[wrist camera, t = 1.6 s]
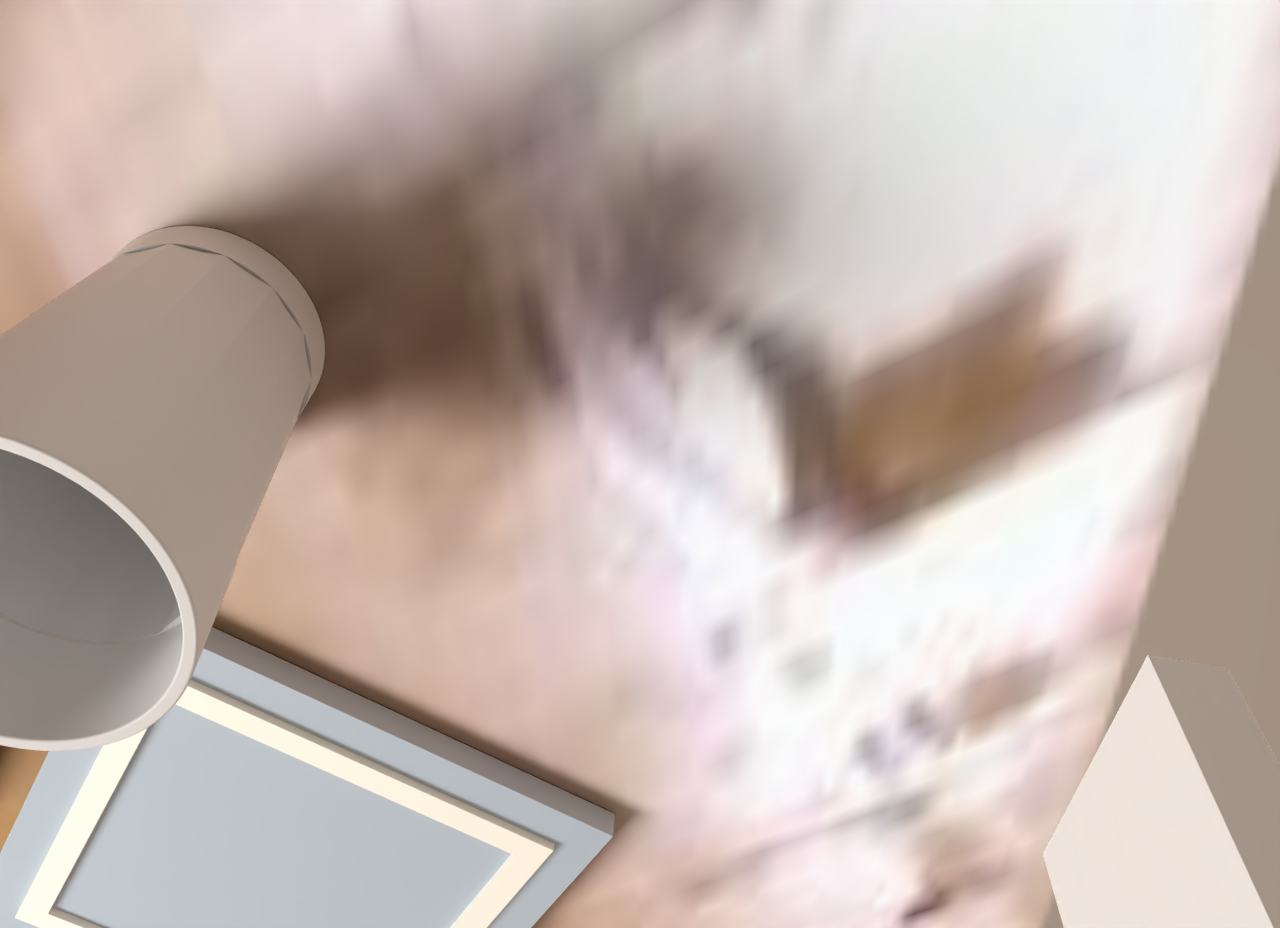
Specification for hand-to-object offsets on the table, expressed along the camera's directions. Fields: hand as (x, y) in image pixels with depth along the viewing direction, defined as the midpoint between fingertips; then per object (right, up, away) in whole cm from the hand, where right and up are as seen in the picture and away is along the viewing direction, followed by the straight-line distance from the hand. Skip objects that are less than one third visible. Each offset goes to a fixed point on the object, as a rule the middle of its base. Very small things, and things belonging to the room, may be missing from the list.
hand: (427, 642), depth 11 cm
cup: (-10, +5, +22) cm, 25 cm away
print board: (-11, -13, +34) cm, 38 cm away
